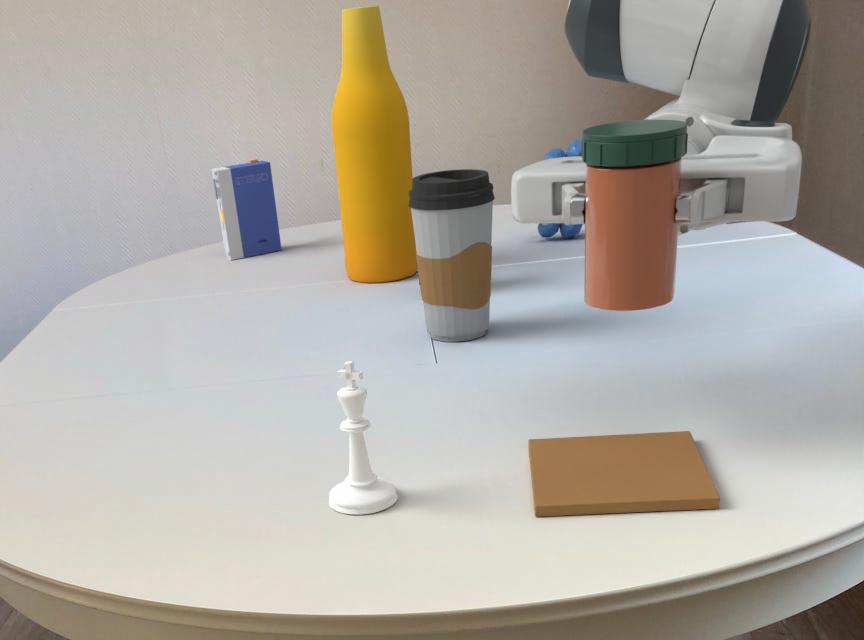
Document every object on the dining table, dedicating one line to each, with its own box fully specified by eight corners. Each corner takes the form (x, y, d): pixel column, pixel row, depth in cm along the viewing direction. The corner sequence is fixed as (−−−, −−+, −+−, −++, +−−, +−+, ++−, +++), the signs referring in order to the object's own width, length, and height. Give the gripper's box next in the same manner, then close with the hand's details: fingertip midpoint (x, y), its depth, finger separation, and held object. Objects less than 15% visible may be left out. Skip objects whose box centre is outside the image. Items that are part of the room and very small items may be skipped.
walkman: (274, 247, 153) (262, 157, 147) (281, 250, 151) (269, 159, 145) (223, 257, 150) (209, 166, 144) (230, 260, 148) (215, 168, 142)
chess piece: (376, 519, 73) (362, 377, 67) (316, 509, 75) (297, 371, 69) (409, 490, 76) (398, 353, 71) (351, 482, 78) (336, 348, 73)
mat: (689, 440, 79) (690, 430, 79) (719, 508, 69) (720, 497, 69) (528, 448, 81) (528, 439, 80) (535, 517, 71) (535, 506, 70)
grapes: (608, 228, 145) (610, 132, 138) (615, 238, 139) (618, 138, 133) (522, 235, 146) (521, 139, 139) (526, 245, 140) (524, 146, 134)
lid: (677, 145, 72) (679, 116, 71) (693, 161, 66) (695, 129, 66) (578, 154, 73) (578, 125, 72) (586, 169, 67) (586, 139, 66)
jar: (667, 284, 77) (675, 125, 71) (680, 307, 72) (690, 138, 66) (581, 290, 78) (582, 133, 72) (587, 313, 72) (589, 146, 67)
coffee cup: (463, 317, 113) (456, 166, 105) (515, 330, 107) (512, 171, 99) (401, 335, 109) (389, 180, 102) (452, 350, 104) (443, 187, 96)
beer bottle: (335, 284, 131) (306, 13, 116) (360, 265, 138) (336, 9, 123) (406, 283, 128) (386, 5, 113) (428, 264, 135) (412, 1, 120)
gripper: (538, 133, 83) (480, 165, 73) (815, 121, 76) (794, 155, 65) (539, 218, 87) (484, 259, 76) (804, 215, 79) (783, 260, 68)
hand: (629, 211), depth 71 cm, fingers closed on jar, 6 cm apart
